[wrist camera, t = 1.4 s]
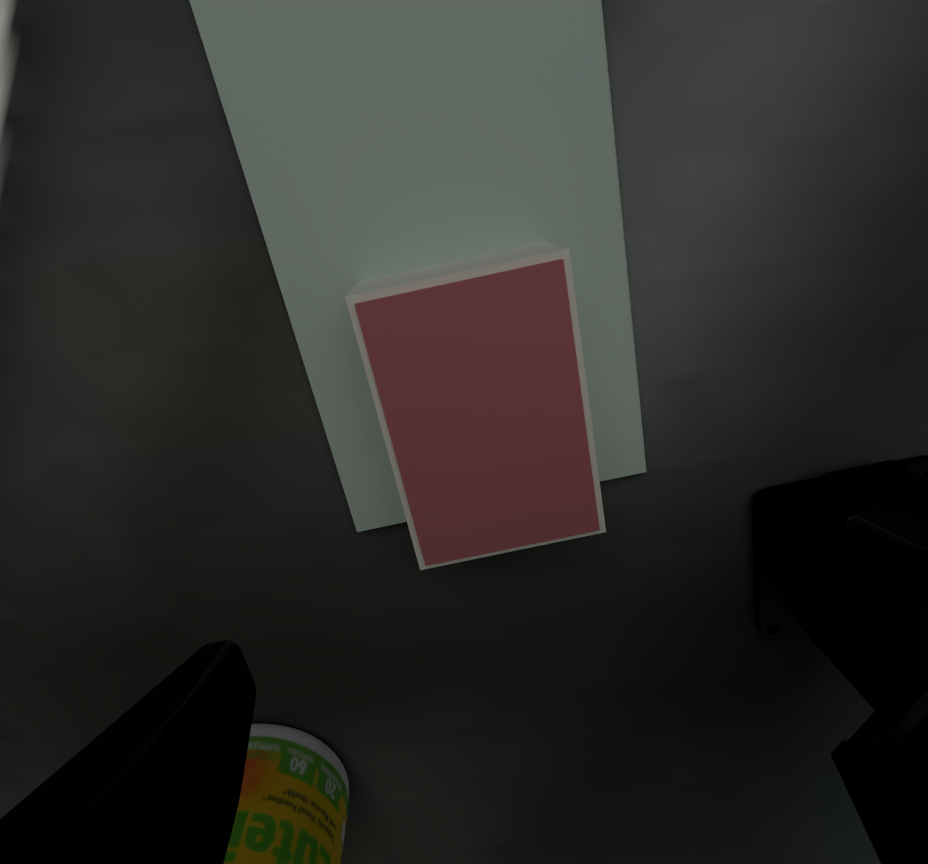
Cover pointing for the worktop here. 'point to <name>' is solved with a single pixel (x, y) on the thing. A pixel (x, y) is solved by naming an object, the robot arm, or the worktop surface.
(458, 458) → the card deck
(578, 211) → the mat
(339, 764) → the supplement bottle
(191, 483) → the worktop surface
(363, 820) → the worktop surface
